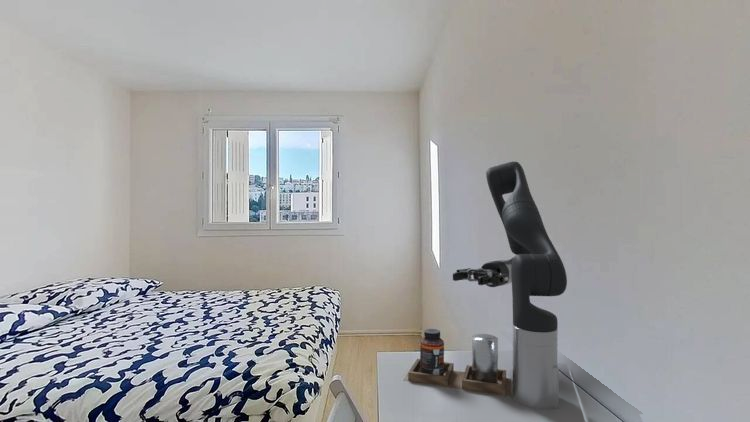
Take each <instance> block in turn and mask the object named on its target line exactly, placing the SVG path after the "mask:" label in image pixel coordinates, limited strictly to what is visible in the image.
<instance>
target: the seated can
mask: <svg viewBox="0 0 750 422" xmlns="http://www.w3.org/2000/svg"><path fill="white" fill-rule="evenodd" d="M471 349H472V350H471V366H472V380H474V381H481V382H488V383H495V384H498V369H499V338H498V337H497V336H495V335H494V334H493V335H492V334H488V333H476V334H473V335H472V337H471Z"/></svg>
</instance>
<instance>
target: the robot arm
mask: <svg viewBox="0 0 750 422" xmlns="http://www.w3.org/2000/svg"><path fill="white" fill-rule="evenodd" d="M485 176H486V182H487V185H488V189H489V192H490V194H491V198H492V200H493V203H494V205H495V208H496V210H497V213H498V215H499V217H500V220H501V223H502V225H503V228H504V231H505V233H506V234H505V235H506V238H507V241H508V245H509V248H510V252H512V254H514V257H512V258H510V259H505V260H504V259H501V260H493V261H487V262H485V263H483V264H482V266H481V267H478V268H470V267H468V268H463V269H462V268H461V269H456V272H453V274H452V280H453V281H454V282H457V281H464V280H466V281H468V282H477V284H478V286H487V287H489V288H497V287H500V286H505V285H509V284H511V292H512V388H511V394H512V398H513V399H514V400H515V401H516V402H517V403H519V404H521V405H524V406H526V407H528V408H533V409H538V410H539V409H540V410H547V409H559V391H560V390H559V387H560V386H559V377H560V375H559V371H560V370H559V366H558V328H559V327H558V325H559V324H558V317H557V315H556V314H554V313H553V312H551V311H549V310H546V309H543V308H542V307H539V306H536V305H534V304H533V303H531V301H530V300H531V299H530V297H557V296H561V295H563V294H564V293H565V291H566V290H567V285H568V278H567V277H568V276H567V272H566V267H565V265H564V262H563V260H562V259H561V256H560V255H559V252H558V251H557V249H556V247H555V246H554V244H553V243H552V240H551V238H550V236H549V235H548V232H547V231H546V230H547V229H546V228H545V225H544V223H543V219H542V217H541V214H540V212H539V208H538V206H537V204H536V203H535V201H534V197H533V196H532V193H531V191H530V187H529V183H528V181H527V176H526V174H525V170H524V169H523V166H522V165H521V163H519V162H518V161H509V162H505V163H503V164H502V163H501V164H498V165H495V166H491V167H489V168H487V169H486V172H485ZM506 194H507V195H508V194H510V195H509V197H508V198H507V200H505V199H504V197H503V195H506ZM472 276H473V278H472Z"/></svg>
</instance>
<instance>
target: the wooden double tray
mask: <svg viewBox="0 0 750 422" xmlns="http://www.w3.org/2000/svg"><path fill="white" fill-rule="evenodd" d="M454 367H455V365H454V362H447V361H444V375H443V376H440V375H433V374H426V373H420V358H417V359H416V360H415V362H414V363H413V365H412V366H411V368H410V369H409V371H408V372H407V374H406V375H405V377H404V378H403V381H406V382H410V383H411V382H414V383H419V384H425V385H432V386H439V387H445V388H450V389H451V388H452V389H457V390H464V391H471V392H476V393H477V392H478V393H483V394H490V395H495V396H496V395H497V396H504V397H510V398H511V397H512V378H510V377H507V369H500V368H498V384H495V383H488V382H481V381H474V380H472V364H471V365H470V364H466V366H465V370H464V371H461V370H459V371H458V370H454V369H455V368H454Z"/></svg>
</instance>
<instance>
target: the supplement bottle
mask: <svg viewBox="0 0 750 422" xmlns="http://www.w3.org/2000/svg"><path fill="white" fill-rule="evenodd" d="M423 336H424V337H422V338H421V340H420V344H419V345H420V346H419V347H420V348H419V349H420V350H419V351H420V352H419V353H420V354H419V355H420V357H419V359H420V373H426V374H433V375H440V376H443V375H444V362H445V341H444V340H443V338H441V331H440V330H439V329H436V328H427V329H426V328H425V329H424V333H423Z"/></svg>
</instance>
